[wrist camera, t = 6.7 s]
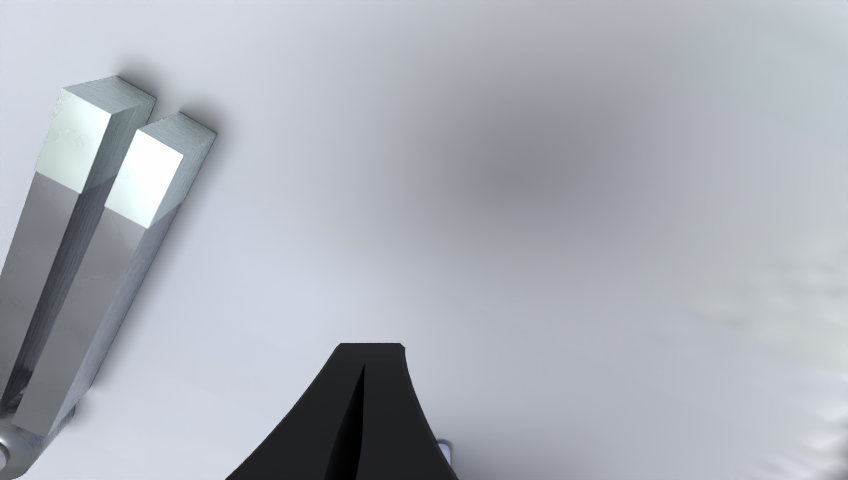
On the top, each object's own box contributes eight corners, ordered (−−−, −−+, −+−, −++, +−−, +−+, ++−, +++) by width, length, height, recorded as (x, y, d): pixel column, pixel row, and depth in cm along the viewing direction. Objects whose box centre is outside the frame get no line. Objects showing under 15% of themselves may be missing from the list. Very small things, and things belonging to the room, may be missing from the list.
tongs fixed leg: (64, 439, 25) (15, 500, 22) (-7, 409, 24) (-69, 468, 21) (216, 134, 19) (177, 158, 16) (129, 82, 18) (70, 97, 15)
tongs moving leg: (45, 369, 24) (-5, 417, 21) (11, 355, 23) (-44, 401, 20) (156, 98, 19) (111, 114, 16) (115, 75, 18) (62, 88, 16)
